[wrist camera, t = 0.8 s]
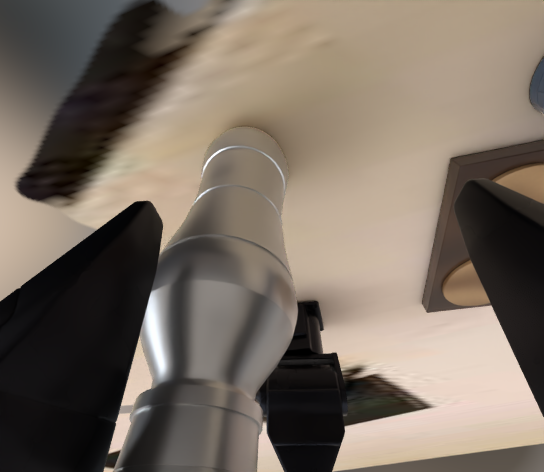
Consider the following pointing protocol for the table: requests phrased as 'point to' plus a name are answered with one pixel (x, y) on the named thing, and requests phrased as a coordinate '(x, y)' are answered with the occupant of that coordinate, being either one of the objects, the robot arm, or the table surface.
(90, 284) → the robot arm
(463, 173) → the coaster board
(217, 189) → the silver metal bottle
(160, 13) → the table surface
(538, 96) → the tumbler
